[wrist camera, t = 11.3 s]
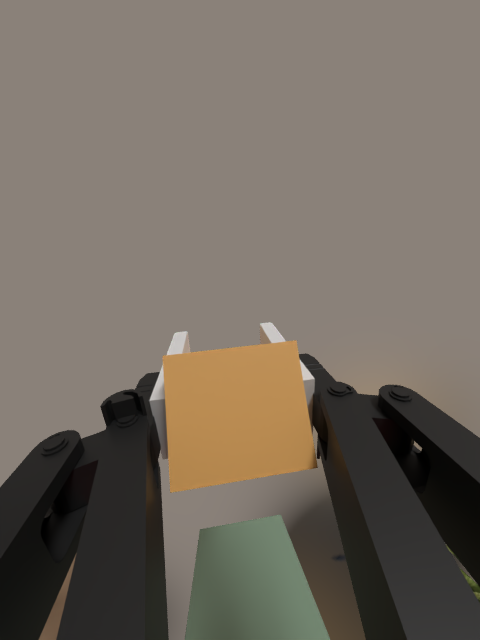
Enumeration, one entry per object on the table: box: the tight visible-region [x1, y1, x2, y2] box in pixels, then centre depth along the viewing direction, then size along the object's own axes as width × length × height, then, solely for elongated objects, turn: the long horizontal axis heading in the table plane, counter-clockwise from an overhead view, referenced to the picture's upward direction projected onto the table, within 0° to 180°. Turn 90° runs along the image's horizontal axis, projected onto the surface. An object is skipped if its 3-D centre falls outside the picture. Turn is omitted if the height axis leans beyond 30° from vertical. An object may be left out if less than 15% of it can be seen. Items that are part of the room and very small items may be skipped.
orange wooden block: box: [163, 340, 317, 493], centre depth 18 cm, size 22×4×4 cm, turn 4°
